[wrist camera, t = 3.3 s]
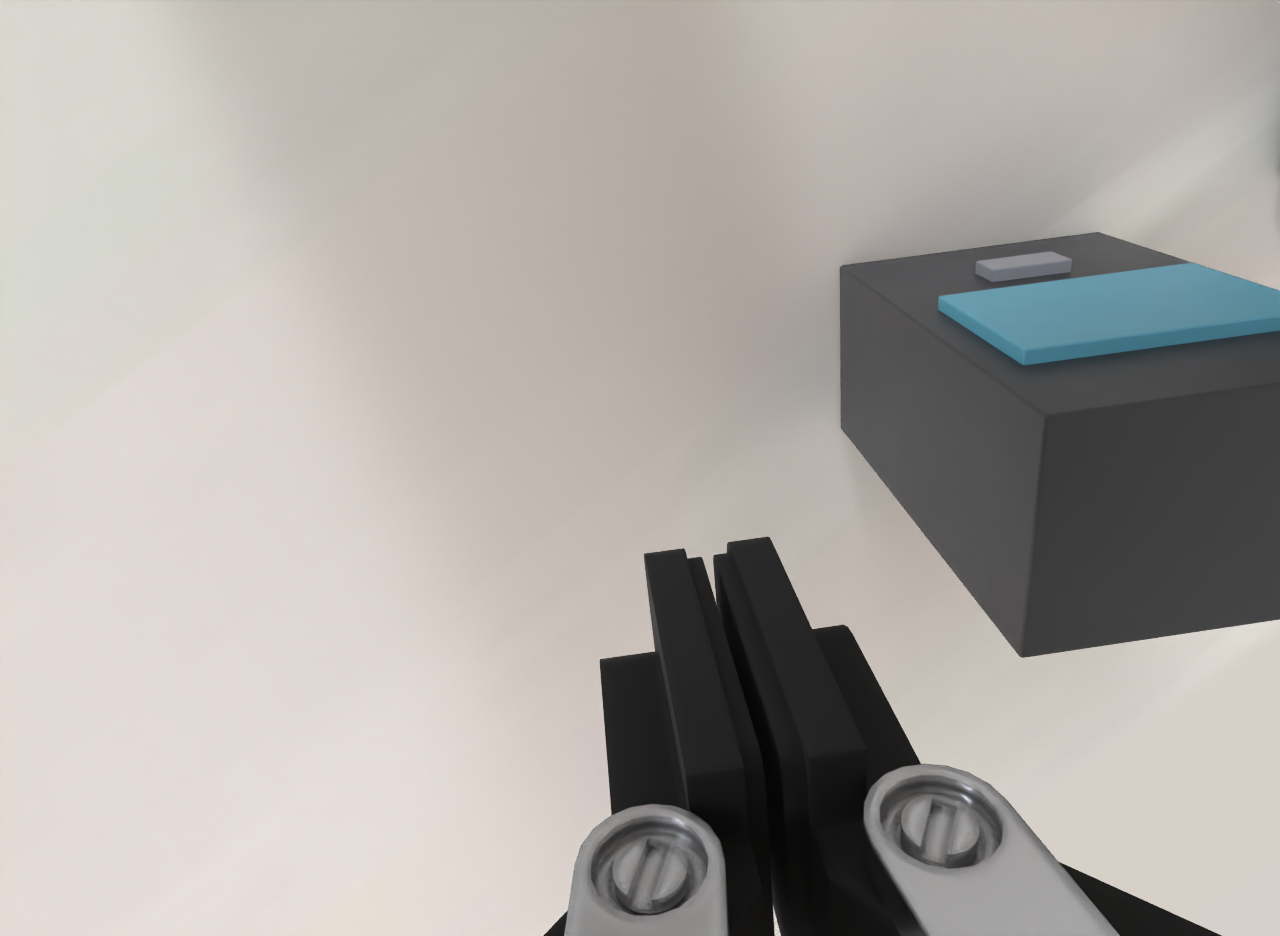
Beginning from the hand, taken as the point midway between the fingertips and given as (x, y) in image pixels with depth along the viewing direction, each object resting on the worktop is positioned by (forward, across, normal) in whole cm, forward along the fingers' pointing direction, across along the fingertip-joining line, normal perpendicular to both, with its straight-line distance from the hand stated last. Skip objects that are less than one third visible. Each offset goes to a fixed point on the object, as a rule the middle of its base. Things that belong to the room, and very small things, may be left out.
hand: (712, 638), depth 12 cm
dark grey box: (+10, -8, 0) cm, 12 cm away
